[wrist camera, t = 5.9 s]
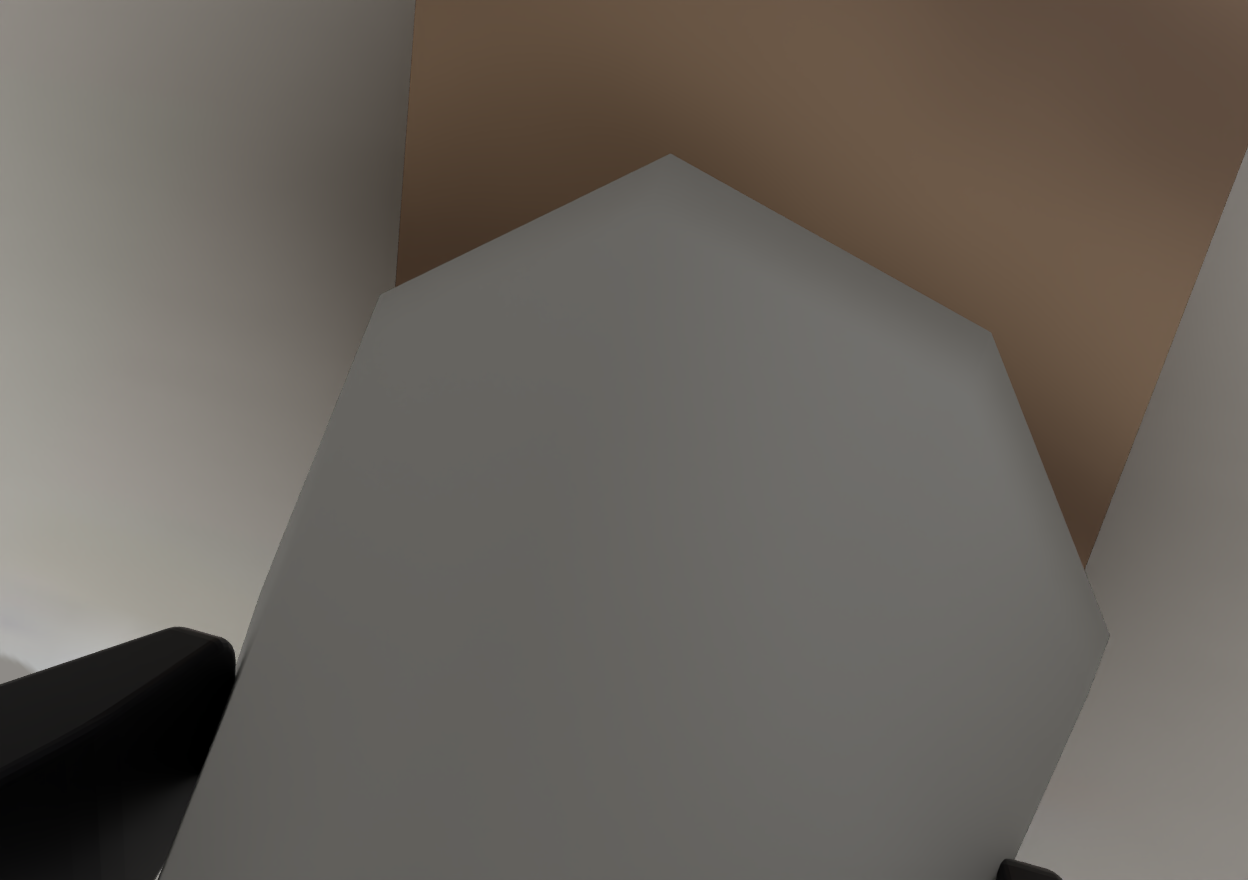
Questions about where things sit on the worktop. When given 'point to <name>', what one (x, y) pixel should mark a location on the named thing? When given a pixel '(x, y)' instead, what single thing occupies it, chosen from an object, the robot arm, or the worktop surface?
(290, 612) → the flask
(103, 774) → the robot arm
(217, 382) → the worktop surface
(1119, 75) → the walnut board
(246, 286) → the worktop surface
